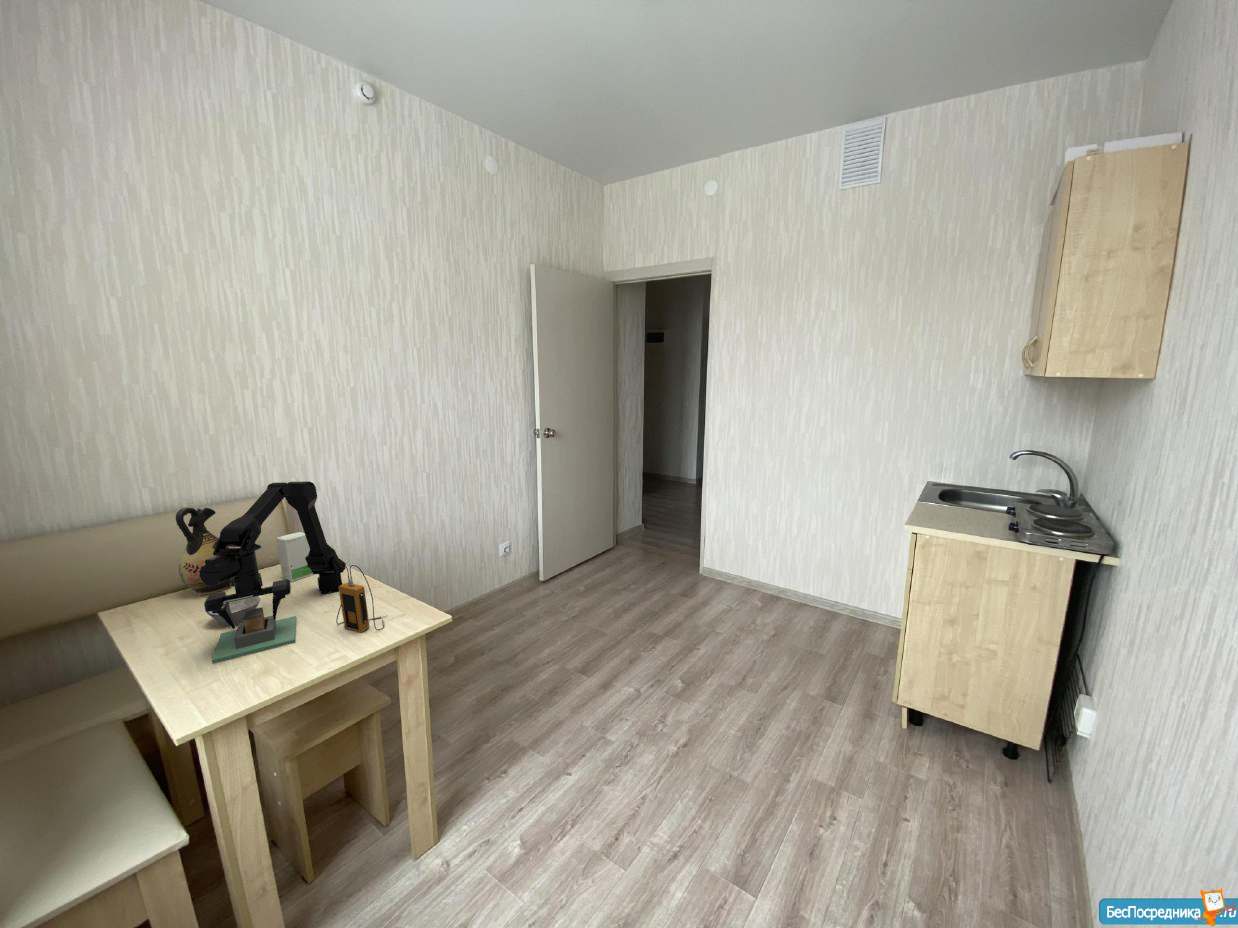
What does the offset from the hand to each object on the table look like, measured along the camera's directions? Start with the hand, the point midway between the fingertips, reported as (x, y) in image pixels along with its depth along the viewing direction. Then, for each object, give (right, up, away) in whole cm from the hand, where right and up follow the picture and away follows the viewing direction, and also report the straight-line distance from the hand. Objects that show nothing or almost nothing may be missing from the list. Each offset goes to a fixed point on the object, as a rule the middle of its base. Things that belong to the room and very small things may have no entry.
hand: (254, 623), depth 141 cm
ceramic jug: (-40, 0, +35) cm, 53 cm away
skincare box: (-16, +3, +44) cm, 47 cm away
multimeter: (+27, -3, +9) cm, 28 cm away
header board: (0, -5, +1) cm, 5 cm away
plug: (0, -4, +1) cm, 4 cm away
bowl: (-15, -3, +14) cm, 21 cm away
